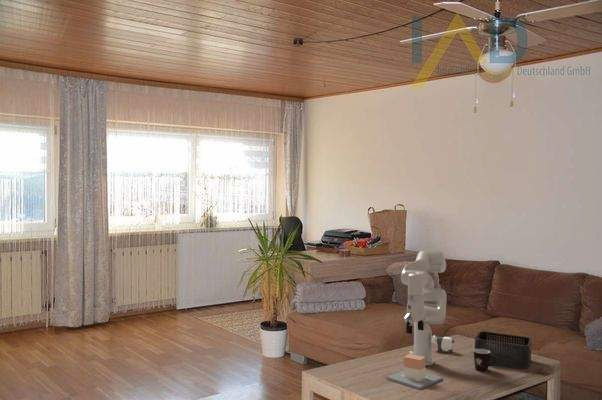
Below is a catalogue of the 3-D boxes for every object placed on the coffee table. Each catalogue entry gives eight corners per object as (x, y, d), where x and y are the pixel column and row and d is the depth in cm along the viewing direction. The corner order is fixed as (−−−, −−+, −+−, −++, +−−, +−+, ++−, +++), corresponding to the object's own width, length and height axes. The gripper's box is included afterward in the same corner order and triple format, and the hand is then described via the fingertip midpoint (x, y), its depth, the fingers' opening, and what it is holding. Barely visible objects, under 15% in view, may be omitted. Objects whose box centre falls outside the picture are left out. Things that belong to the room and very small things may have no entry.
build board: (386, 379, 291) (386, 376, 291) (409, 370, 305) (409, 367, 304) (419, 389, 276) (419, 386, 276) (442, 379, 290) (442, 377, 290)
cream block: (403, 375, 291) (403, 366, 291) (410, 373, 296) (410, 363, 296) (418, 380, 285) (418, 370, 285) (425, 377, 289) (425, 367, 289)
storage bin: (531, 360, 323) (532, 336, 323) (528, 370, 306) (528, 345, 305) (479, 353, 336) (479, 330, 336) (473, 362, 319) (473, 338, 318)
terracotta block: (403, 366, 290) (403, 357, 290) (408, 363, 295) (408, 354, 295) (420, 370, 285) (421, 360, 285) (425, 366, 290) (425, 356, 290)
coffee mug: (469, 368, 308) (469, 349, 308) (482, 366, 311) (483, 348, 311) (484, 375, 297) (484, 356, 297) (497, 373, 301) (497, 354, 300)
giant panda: (454, 351, 338) (454, 335, 338) (453, 354, 333) (453, 337, 333) (429, 348, 344) (429, 332, 344) (427, 351, 339) (427, 334, 339)
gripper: (411, 301, 280) (410, 336, 281) (431, 296, 292) (431, 330, 293) (398, 299, 286) (398, 333, 286) (419, 294, 298) (418, 327, 298)
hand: (414, 331), depth 290 cm, fingers open, 9 cm apart
